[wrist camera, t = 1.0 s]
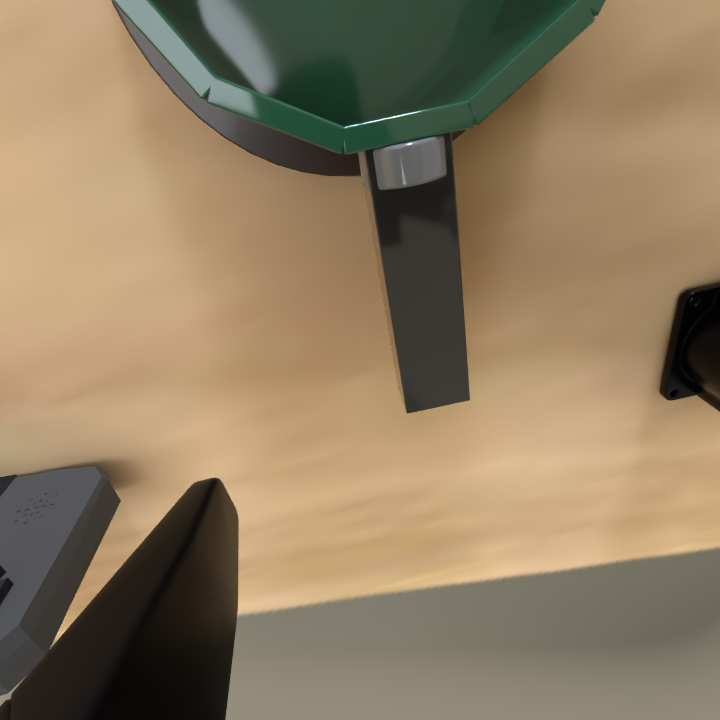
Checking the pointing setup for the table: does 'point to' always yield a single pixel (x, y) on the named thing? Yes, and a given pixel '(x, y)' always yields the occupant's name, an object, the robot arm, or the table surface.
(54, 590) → the handheld gaming console
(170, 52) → the pot
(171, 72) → the dark round saucer
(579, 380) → the table surface
